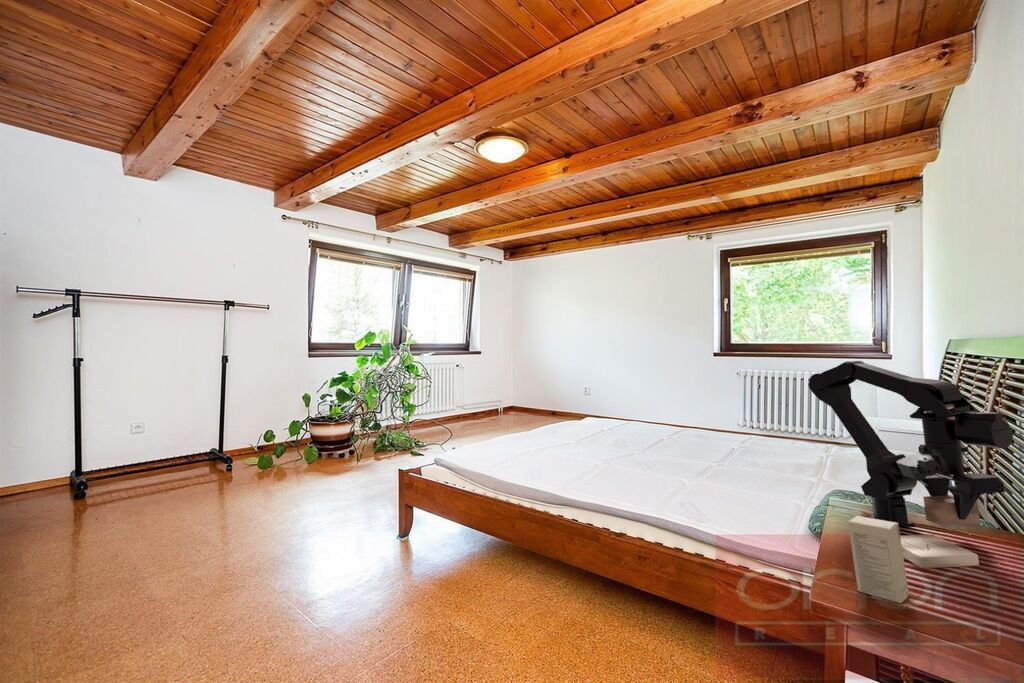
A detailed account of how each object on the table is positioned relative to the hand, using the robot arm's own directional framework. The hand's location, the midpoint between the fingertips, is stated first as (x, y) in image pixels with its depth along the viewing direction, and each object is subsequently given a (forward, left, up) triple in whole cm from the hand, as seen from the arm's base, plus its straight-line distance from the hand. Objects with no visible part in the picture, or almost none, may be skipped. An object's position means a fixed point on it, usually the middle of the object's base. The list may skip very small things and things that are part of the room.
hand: (951, 515), depth 95 cm
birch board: (+6, -10, -5) cm, 13 cm away
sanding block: (0, 0, -2) cm, 2 cm away
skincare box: (+19, -28, -6) cm, 34 cm away
